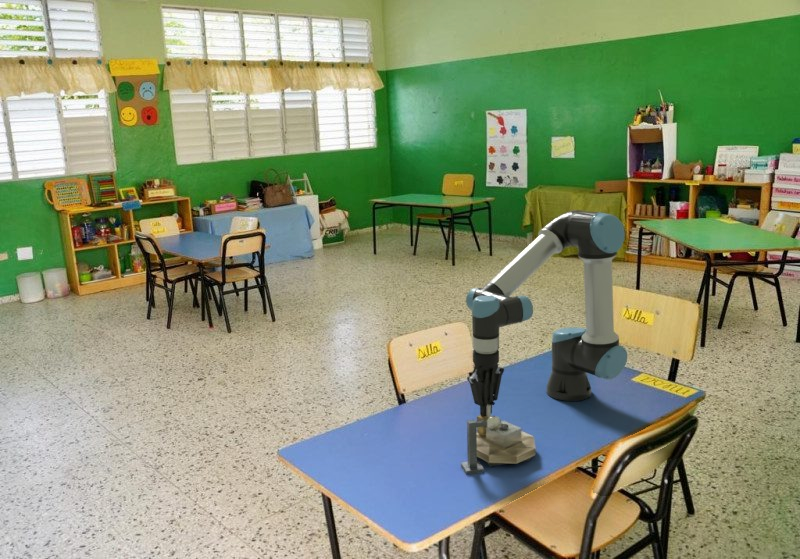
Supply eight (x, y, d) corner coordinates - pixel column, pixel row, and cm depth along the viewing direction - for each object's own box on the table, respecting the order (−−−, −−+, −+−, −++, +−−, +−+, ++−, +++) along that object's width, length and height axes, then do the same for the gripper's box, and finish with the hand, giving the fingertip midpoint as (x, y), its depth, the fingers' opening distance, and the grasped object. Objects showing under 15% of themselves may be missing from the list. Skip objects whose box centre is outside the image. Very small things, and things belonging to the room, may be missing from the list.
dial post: (496, 460, 187) (496, 410, 184) (503, 469, 183) (503, 418, 179) (460, 465, 185) (459, 415, 182) (466, 474, 180) (465, 422, 177)
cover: (503, 433, 196) (503, 418, 195) (521, 441, 190) (521, 426, 189) (486, 440, 191) (486, 425, 190) (504, 448, 186) (504, 433, 185)
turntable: (501, 428, 203) (501, 406, 202) (548, 449, 189) (548, 426, 188) (457, 446, 193) (456, 423, 191) (502, 469, 179) (502, 445, 177)
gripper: (492, 341, 198) (492, 414, 204) (460, 351, 191) (461, 426, 197) (510, 347, 193) (510, 422, 199) (478, 358, 185) (479, 435, 191)
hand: (486, 424), depth 198 cm, fingers closed
